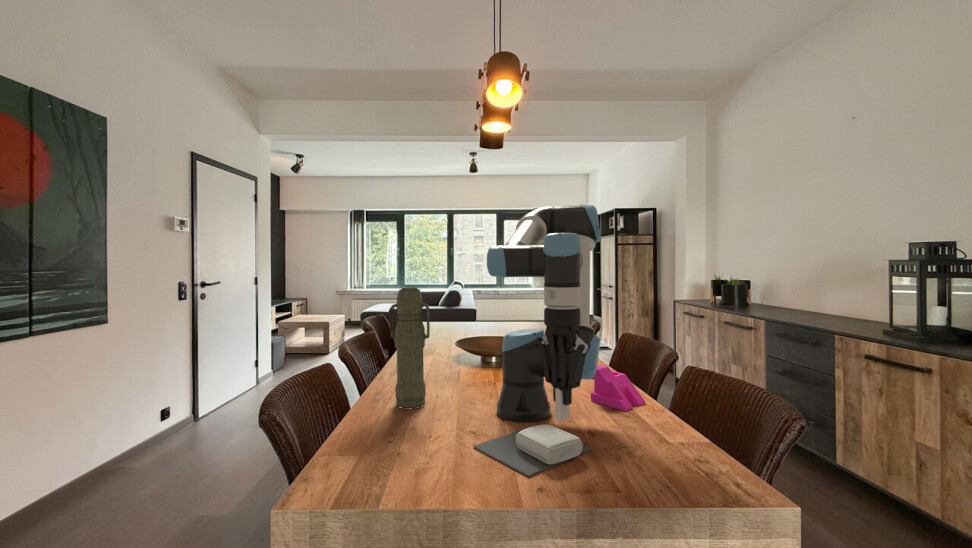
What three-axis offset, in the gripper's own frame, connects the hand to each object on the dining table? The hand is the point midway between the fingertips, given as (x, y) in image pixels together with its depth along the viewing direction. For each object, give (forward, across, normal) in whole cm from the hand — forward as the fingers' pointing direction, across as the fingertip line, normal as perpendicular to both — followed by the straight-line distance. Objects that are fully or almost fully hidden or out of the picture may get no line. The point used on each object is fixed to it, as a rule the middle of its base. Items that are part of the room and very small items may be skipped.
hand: (562, 418), depth 91 cm
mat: (+9, -9, 0) cm, 13 cm away
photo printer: (+7, +1, 0) cm, 7 cm away
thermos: (+10, -54, -6) cm, 56 cm away
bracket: (+10, -16, +43) cm, 47 cm away
